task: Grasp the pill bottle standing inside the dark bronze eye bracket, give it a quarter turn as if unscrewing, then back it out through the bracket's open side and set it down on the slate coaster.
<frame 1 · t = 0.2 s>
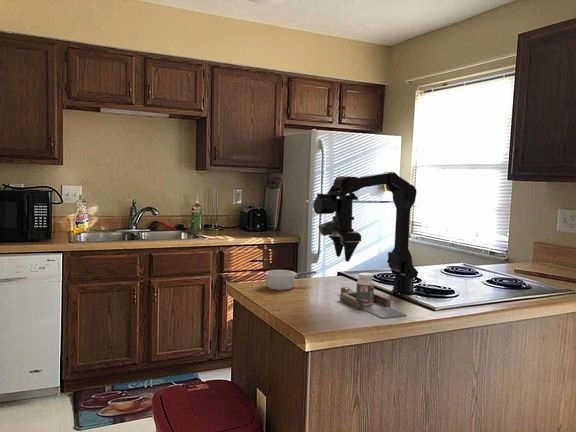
hand: (342, 258, 164), 14 cm above the worktop, fingers open, 9 cm apart
saucepan: (290, 287, 181), on the worktop
pill bottle: (364, 303, 160), resting in eye bracket
eye bracket: (364, 303, 160), on the worktop
coaster: (385, 313, 149), on the worktop
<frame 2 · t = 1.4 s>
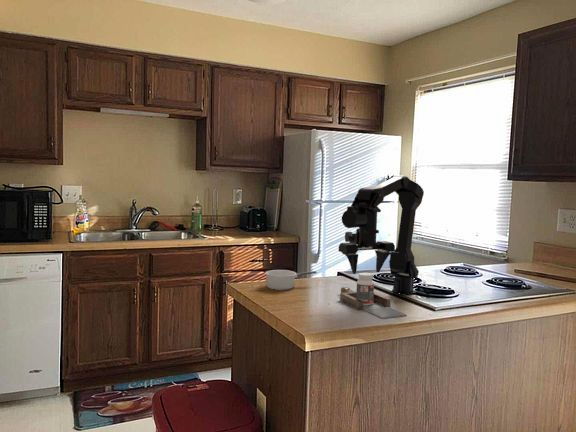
hand: (366, 272, 159), 10 cm above the worktop, fingers open, 9 cm apart
nothing on the worktop moved.
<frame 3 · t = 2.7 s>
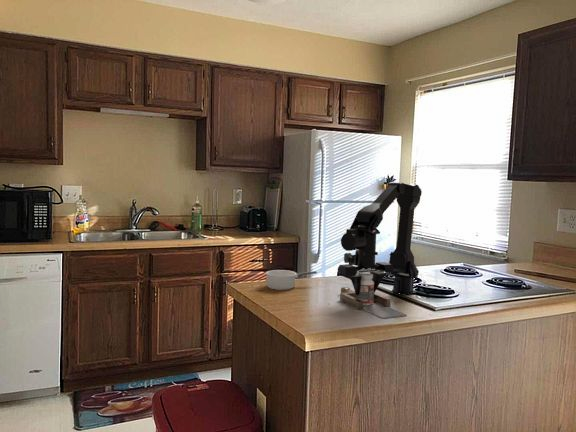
hand: (364, 294, 160), 3 cm above the worktop, fingers closed on pill bottle, 6 cm apart
pill bottle: (364, 303, 160), resting in eye bracket, touching gripper
everything else where it was.
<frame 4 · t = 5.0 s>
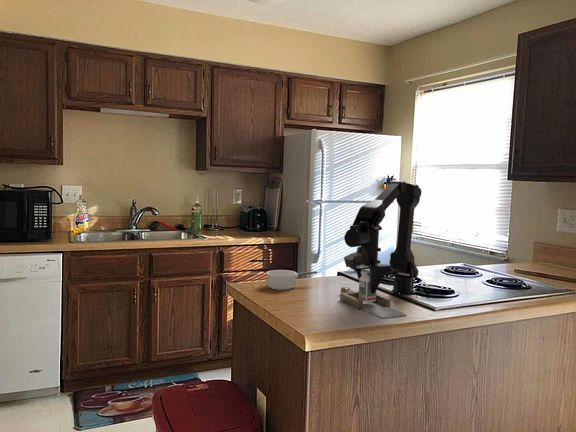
hand: (367, 291, 159), 4 cm above the worktop, fingers closed on pill bottle, 6 cm apart
pill bottle: (367, 300, 159), point 1 cm above the worktop, touching gripper
everything else where it was.
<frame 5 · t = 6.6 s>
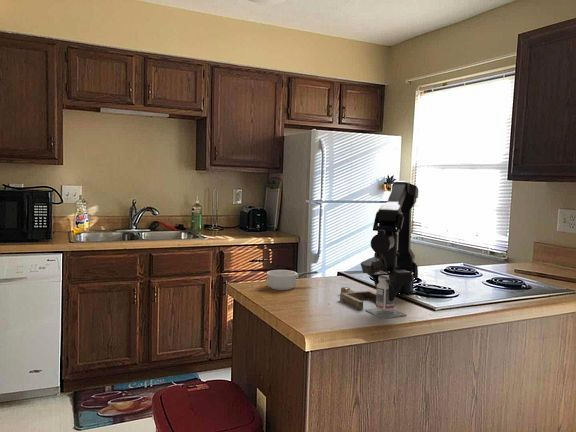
hand: (385, 298, 149), 4 cm above the worktop, fingers closed on pill bottle, 6 cm apart
pill bottle: (384, 308, 150), point 1 cm above the worktop, touching gripper
everything else where it was.
when the fingers open (4 cm above the worktop, at t = 7.6 s): pill bottle stays where it is, resting on coaster.
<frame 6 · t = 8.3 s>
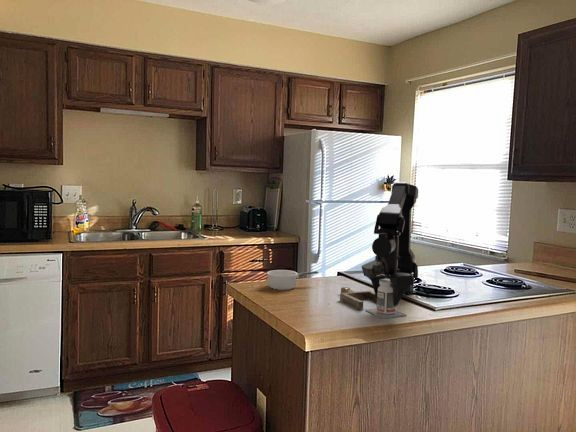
hand: (386, 301, 149), 4 cm above the worktop, fingers open, 9 cm apart
pill bottle: (385, 312, 149), resting on coaster
everything else where it was.
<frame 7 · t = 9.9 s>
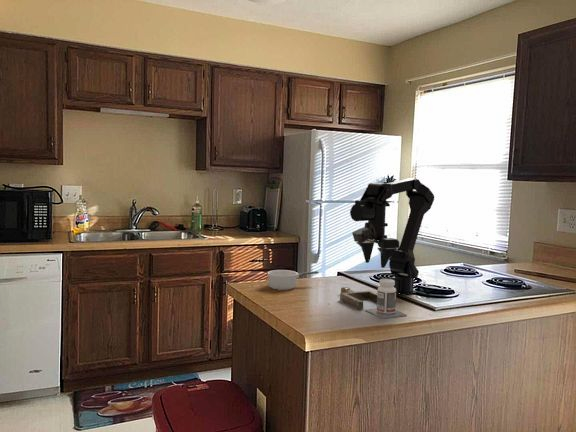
hand: (374, 265, 165), 12 cm above the worktop, fingers open, 9 cm apart
nothing on the worktop moved.
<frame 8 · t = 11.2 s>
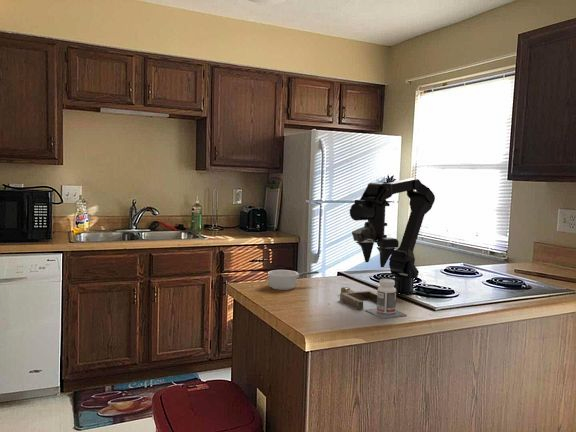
hand: (374, 264, 165), 12 cm above the worktop, fingers open, 9 cm apart
nothing on the worktop moved.
at the end: pill bottle inside the target area (0.1 cm from its centre), resting on coaster; pill bottle tilted 0°; the gripper is holding nothing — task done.
